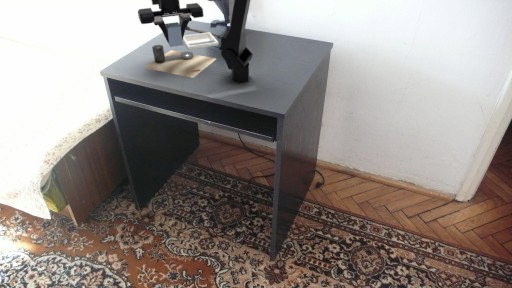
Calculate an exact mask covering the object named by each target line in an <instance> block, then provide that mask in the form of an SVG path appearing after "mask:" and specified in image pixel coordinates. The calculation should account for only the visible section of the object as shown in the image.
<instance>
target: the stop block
mask: <svg viewBox="0 0 512 288" xmlns="http://www.w3.org/2000/svg"><path fill="white" fill-rule="evenodd" d="M165 26H166V30H167V34H168V39H169V42H167V43H168V45H169V47H170V48H173V47H180V46H183V45H184V44H183V43H182V35H181V26H180V22H170V23H168V22H167V23H165Z"/></svg>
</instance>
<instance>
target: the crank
mask: <svg viewBox="0 0 512 288" xmlns="http://www.w3.org/2000/svg"><path fill="white" fill-rule="evenodd" d="M151 49H152V53H153V59H154V61H155V62H156V63H163V62H165V61H170V60H177V59H191V58H193V54H194V52H193V51H181V52H182V53H181V54H179V55H173V56H166V57H165V55H164V54H165V50H164V46H163V45H161V44H155V45H153V46H152V48H151Z"/></svg>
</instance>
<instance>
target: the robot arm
mask: <svg viewBox="0 0 512 288" xmlns="http://www.w3.org/2000/svg"><path fill="white" fill-rule="evenodd" d="M151 5H152V6H157V5H158V9H159V10H155V11H153V10H152V8H151V7H148V8H147V7H146V8H140V9H138V10H137V16H138V20H139V22H140V24H141V25H146V24H153V25H154V26H158V27H159V29H160V30H161V32H162V33H163V36H164V38H165V40H166V43H168V42H169V39H168V34H167V30H166V26H165V24H166V23H165V21H164V19H163V18H168V17H177V16H178V21H179V22H178V23H179V25H180V26H181V35H182V40H183V37H184V36H185V33H186V27H187V26H189V24H190V23H189V22H192V20H193V19H192V18H194V19H195V18H196V19H197V18H203V17H205V16H204V9H203V7H202V6H201V5H200V4H199V3H198V2H194V3H186V5H185V7H182V8H181V6H180V0H151ZM250 5H251V0H235V1H234V7H233V13H232V19H231V25H230V24H229V30H227V31H226V32H225V33H224V34H223V35H221V36H220V37H221V39H220V47H219V49H218V50H219V51H220V55H221V57H222V58H223V60H224V61H225V64H226V66H227V69H228V70H230V71H231V74H230V77H231V80H232V81H233V82H235V83H237V84H243V83H248V82H250V61H252V59H253V56H254V53H252V52H251V50H250V49H249V48H248V47H247V37H246V33H245V30H246V25H247V20H248V15H249V9H250Z"/></svg>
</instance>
